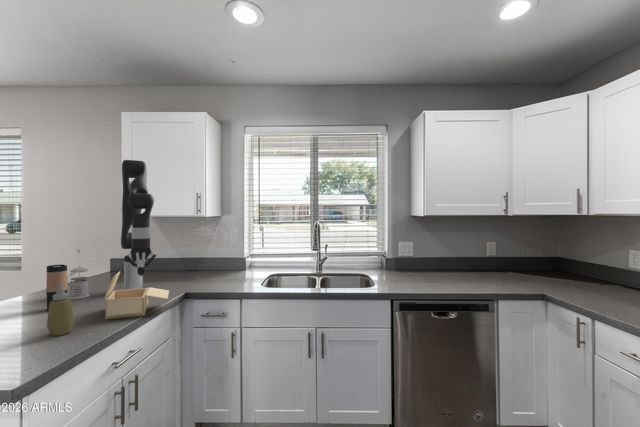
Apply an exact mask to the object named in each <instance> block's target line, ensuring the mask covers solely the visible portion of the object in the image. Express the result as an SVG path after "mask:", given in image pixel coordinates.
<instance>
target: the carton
mask: <svg viewBox="0 0 640 427" xmlns="http://www.w3.org/2000/svg"><path fill="white" fill-rule="evenodd" d="M148 289H149V287H145V288H144V287H143V289H129V290H124V289H120V290H118V289H117V290H113V291H112V292H111V293H110V294H109V295H108V296H107V297H106V299H105V300H104V302H105V303H104V304H105V306H104V310H105V312H104V314H105V316H104V317H105V320H114V319H124V318H136V317H142V316H145V315H146V312H147V309H148V307H149V296H146V294H147V291H148Z"/></svg>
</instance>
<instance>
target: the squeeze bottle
mask: <svg viewBox="0 0 640 427" xmlns="http://www.w3.org/2000/svg"><path fill="white" fill-rule="evenodd" d="M68 297H69V293H68V292H67V293H65V291H64V288H63V284H59V285H58V289H57V293H56V294H55V295H53V301H51V302H50V303H49V311H47V313H48V314H47V320H46V328H47V330H48V332H49V334H50V336H53V337H57V336H59V337H60V336H63V335H64V336H65V335H67V334H70V333H71V331H72V328H73V326H74V323H75V317H74V310H73V302H72V299H69V298H68Z"/></svg>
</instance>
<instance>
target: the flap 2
mask: <svg viewBox="0 0 640 427" xmlns="http://www.w3.org/2000/svg"><path fill="white" fill-rule="evenodd" d="M169 293H170V290H167V289H162V288H156V287H150V286H149V287H148V291H147V294H146V296H148V298H149V297H150V298H157V299H163V300H169V299H168V298H169Z"/></svg>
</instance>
